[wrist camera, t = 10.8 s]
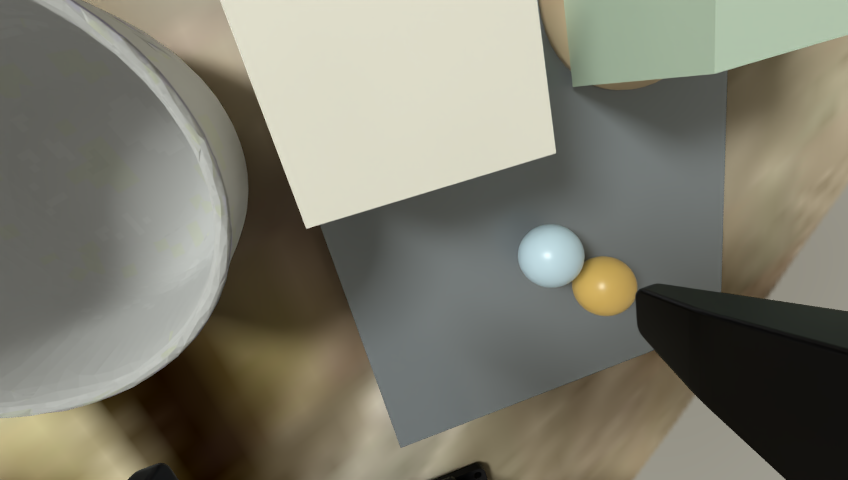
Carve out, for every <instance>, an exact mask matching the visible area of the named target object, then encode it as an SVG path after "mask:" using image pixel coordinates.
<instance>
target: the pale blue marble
mask: <svg viewBox="0 0 848 480" xmlns="http://www.w3.org/2000/svg"><path fill="white" fill-rule="evenodd" d="M584 259H585V254H584V248H583V245H582V243H581V241H580V239H579V238H578V237H577V235H576V234H575V233H574V232H572V231H571V230H569V229H568V228H566V227H563V226H561V225H556V224H546V225H541V226H538V227H536V228H534V229H532V230H531V231H529V232H528V233H527V234H526V235H525V237H524V238H523V239H522V241H521V243H520V246H519V249H518V262H519V266H520V268H521V270H522V272H523V273H524V275H525V276H526V277H527V278H528V279H529V280H530V281H532V282H533V283H535V284H537V285H539V286H542V287H547V288H556V287H561V286H564V285H566V284H568V283H570V282H571V281H573V280H574V279H575V278H576V277H577V276H578V275H579V273H580V271H581V270H582V267H583V265H584Z"/></svg>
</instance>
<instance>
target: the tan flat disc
mask: <svg viewBox="0 0 848 480" xmlns="http://www.w3.org/2000/svg"><path fill="white" fill-rule="evenodd" d="M538 4H539V10H540V15H541V20H542V23H543V26H544V30H545V33H546V35H547V37H548V40H549V42H550V44H551V46H552V48H553V49H554V51H555V53H556V54H557V56H558V57H559V59H560V60H561V61H562V62H563V64H564V65H565V66H566V67H567V68H568V69H569V70H570V71H571V66H570V56H569V47H568V37H567V28H566V18H565V9H564V0H538ZM660 80H662V79H654V80H643V81H632V82H621V83H610V84H599V85H593V86H596V87H600V88H603V89H609V90H629V89H637V88H641V87H645V86H648V85H651V84H653V83H656V82H658V81H660Z"/></svg>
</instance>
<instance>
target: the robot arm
mask: <svg viewBox="0 0 848 480" xmlns="http://www.w3.org/2000/svg"><path fill="white" fill-rule="evenodd" d="M635 302H636V319H637V327H638V330H639V332H640V334H641V335H642V337H643V338H644V339H645V340H646V341H647V342H648V343H649V345H650V346H651V347H652V348H653V349H654V350H655V351H656V352H657V353H658V355H659V356H660V357H661V358H662V359H663V360H664V361H665V362H666V363H667V364H668V366H669V367H670V368H671V369H672V370H673V371H674V372H675V373H676V374H677V376H678V377H679V378H680V379H681V380H682V381H683V382H684V383H685V384H686V385H687V387H688V388H689V389H690V390H691V391H692V392H693V393H694V394H695V395H696V396H697V397H698V398H699V399H700V400H701V401H702V402H703V403H704V404H705V405H706V406H707V407H708V408H709V409H710V410H711V411H712V412H713V413H714V414H716V415H717V416H718V417H719V418H720V419H721V420H722V421H723V422H724V423H726V425H727V426H729V427H730V428H731V429H732V430H733V431H734V432H735V433H736V434H737V435H738V436H739V437H740V438H741V439H743V440H744V441H745V442H746V443H747V444H748V445H749V446H750V447H751V448H752V449H753V450H754V451H756V452H757V453H758V454H759V455H760V456H761V457H762V458H763V459H765V461H766V462H768V463H769V464H770V465H771V466H772V467H773V468H774V469H775V470H776V471H777V472H778V473H779V474H780V475H782V476H783V477H784V478H785V479H786V480H848V311H842V310H835V309H829V308H822V307H815V306H808V305H802V304H795V303H788V302H782V301H775V300H768V299H761V298H755V297H748V296H741V295H734V294H728V293H721V292H714V291H708V290H701V289H694V288H687V287H681V286H674V285H667V284H660V283H655V284H652V285H649V286H646V287H643V288H641V289H639V290H638V291H637V292H636V295H635ZM128 480H178V478H177V477H176V475H175V474H174V472H173V471H172V469H171V468H170V467H169V466H168V465H167V464H165V463H158V464H155V465H152V466H150V467H147V468H144V469H141V470H139V471H137V472H135V473H134V474H133V475H132V476H131V477H130V478H129V479H128ZM436 480H487V477H486V473H485V470H484V468H483V466H482V465H481V464H478V463H476V464H473V465H470V466H468V467H465V468H463V469H460V470H458V471H456V472H453V473H451V474H448V475H446V476H443V477H441V478H438V479H436Z"/></svg>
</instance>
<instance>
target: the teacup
mask: <svg viewBox="0 0 848 480" xmlns="http://www.w3.org/2000/svg"><path fill="white" fill-rule="evenodd" d="M247 203H248V174H247V168H246V162H245V157H244V153H243V150H242V147H241V143H240V141H239V138H238V136H237V133H236V131H235V128H234V126H233V124H232V122H231V120H230V119H229V117H228V115H227V113H226V112H225V110H224V108H223V107H222V105H221V103H220V102H219V100H218V99H217V98H216V96H215V95H214V94H213V92H212V91H211V90H210V88H209V87H208V86H207V85H206V84H205V82H204V81H203V80H202V79H201V78H200V77H199V76H198V75H197V74H196V73H195V72H194V71H193V70H192V69H191V68H190V67H189V66H188V65H187V64H186V63H185V62H184V61H183V60H181V59H180V58H179V57H178V56H177V55H176V54H174V53H173V52H172V51H170V50H169V49H168V48H166V47H165V46H164V45H162V44H161V43H159V42H158V41H157V40H155V39H154V38H152V37H151V36H149V35H148V34H146V33H145V32H143V31H142V30H140V29H138V28H136V27H134V26H133V25H131V24H129V23H127V22H126V21H124V20H122V19H120V18H118V17H116V16H114V15H112V14H110V13H108V12H106V11H104V10H102V9H100V8H97V7H95V6H93V5H91V4H89V3H86V2H84V1H82V0H0V418H12V417H23V416H32V415H37V414H43V413H51V412H59V411H66V410H70V409H74V408H77V407H81V406H84V405H88V404H92V403H95V402H98V401H100V400H103V399H106V398H109V397H111V396H114V395H116V394H118V393H121V392H123V391H125V390H127V389H130V388H132V387H134V386H136V385H137V384H139V383H141V382H142V381H144V380H146V379H147V378H149V377H150V376H152V375H153V374H155V373H156V372H158V371H159V370H161V369H162V368H164V367H165V366H166V365H167V364H169V363H170V362H171V361H172V360H174V359H175V358H176V357H177V356H178V355H179V354H180V353H181V352H182V351H183V350H184V349H185V348H186V347H187V346H188V345H189V344H190V343H191V342H192V341H193V340H194V339H195V338H196V337H197V336H198V334H199V333H200V331H201V330H202V328H203V327H204V325H205V324H206V322H207V321H208V319H209V318H210V316H211V314H212V312H213V310H214V308H215V307H216V305H217V303H218V301H219V299H220V296H221V293H222V290H223V287H224V285H225V283H226V279H227V273H228V269H229V265H230V261H231V259H232V256H233V254H234V252H235V249H236V247H237V244H238V241H239V238H240V235H241V232H242V229H243V226H244V222H245V217H246V212H247Z"/></svg>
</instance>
